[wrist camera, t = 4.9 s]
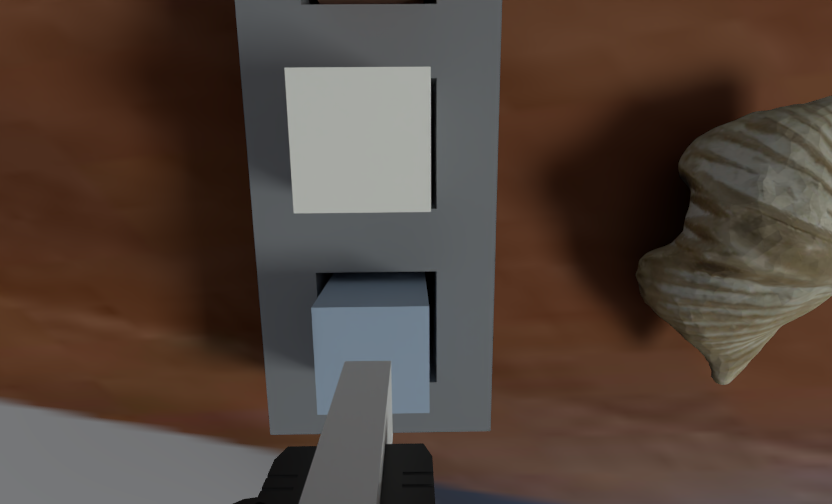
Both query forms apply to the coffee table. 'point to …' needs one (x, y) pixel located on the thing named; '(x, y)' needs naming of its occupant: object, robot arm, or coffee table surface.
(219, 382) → the coffee table surface
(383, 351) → the blue key
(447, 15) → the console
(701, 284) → the seashell
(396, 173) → the white key
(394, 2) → the salmon brown block
